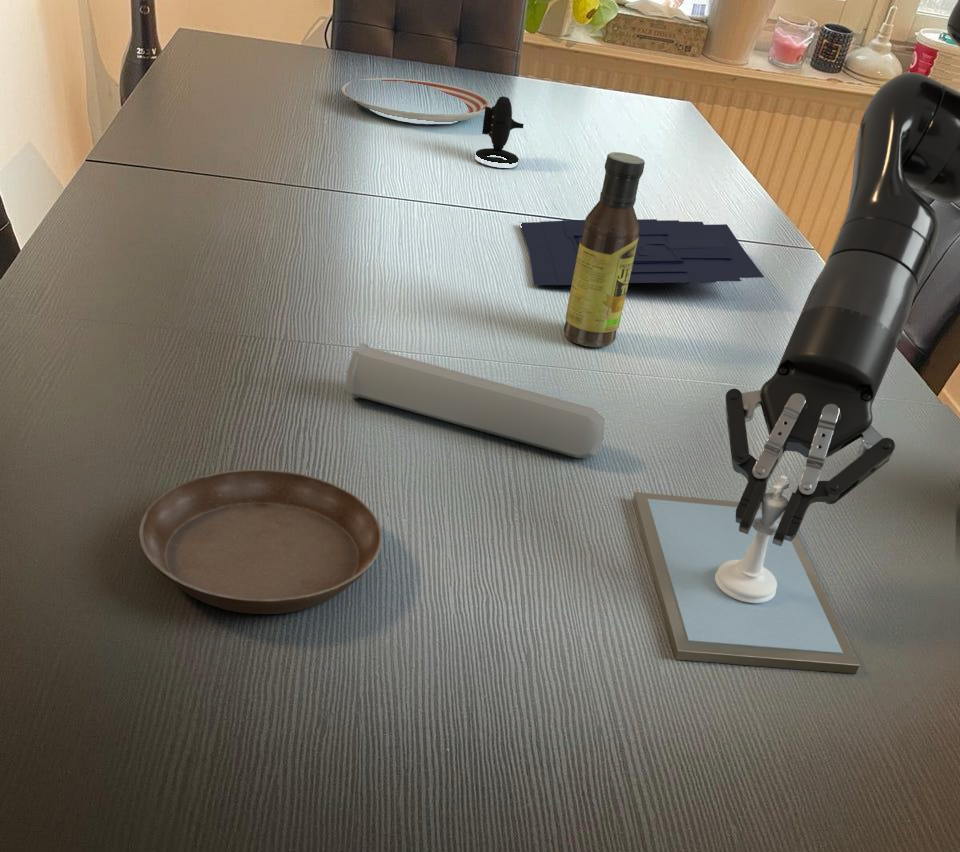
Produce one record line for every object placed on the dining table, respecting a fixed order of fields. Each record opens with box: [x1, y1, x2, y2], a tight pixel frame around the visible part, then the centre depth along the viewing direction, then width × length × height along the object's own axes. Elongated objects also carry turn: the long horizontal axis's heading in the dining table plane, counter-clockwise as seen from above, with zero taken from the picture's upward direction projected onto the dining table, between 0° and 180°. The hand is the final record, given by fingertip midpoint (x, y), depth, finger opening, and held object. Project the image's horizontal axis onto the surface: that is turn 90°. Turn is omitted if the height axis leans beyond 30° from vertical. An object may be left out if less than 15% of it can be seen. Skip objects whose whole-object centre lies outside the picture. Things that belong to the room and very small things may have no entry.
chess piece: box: [715, 474, 791, 603], centre depth 79 cm, size 5×5×10 cm
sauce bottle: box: [563, 151, 646, 348], centre depth 113 cm, size 6×6×20 cm
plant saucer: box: [138, 468, 383, 615], centre depth 77 cm, size 18×18×3 cm
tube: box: [345, 342, 605, 460], centre depth 97 cm, size 5×5×25 cm
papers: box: [520, 218, 765, 286], centre depth 139 cm, size 24×30×4 cm
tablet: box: [632, 491, 860, 675], centre depth 84 cm, size 14×22×1 cm, turn 2°
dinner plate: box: [341, 77, 492, 122], centre depth 189 cm, size 27×27×3 cm
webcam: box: [475, 96, 524, 164], centre depth 168 cm, size 8×8×10 cm
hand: (760, 535), depth 77 cm, fingers closed on chess piece
